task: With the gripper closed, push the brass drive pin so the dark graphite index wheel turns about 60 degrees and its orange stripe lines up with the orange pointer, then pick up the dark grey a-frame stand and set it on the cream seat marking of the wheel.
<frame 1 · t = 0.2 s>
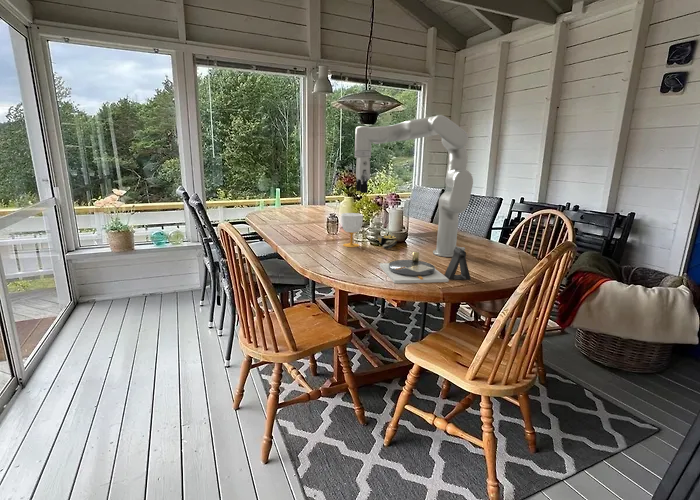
hand: (361, 192, 179), 31 cm above the table, tool pointing down, fingers open, 9 cm apart
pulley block: (385, 244, 214), on the table
cup: (351, 245, 208), on the table
dark grey a-frame stand: (457, 278, 156), on the table
index wheel: (411, 262, 160), point 4 cm above the table, hinge at 0.0°
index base: (411, 272, 161), on the table
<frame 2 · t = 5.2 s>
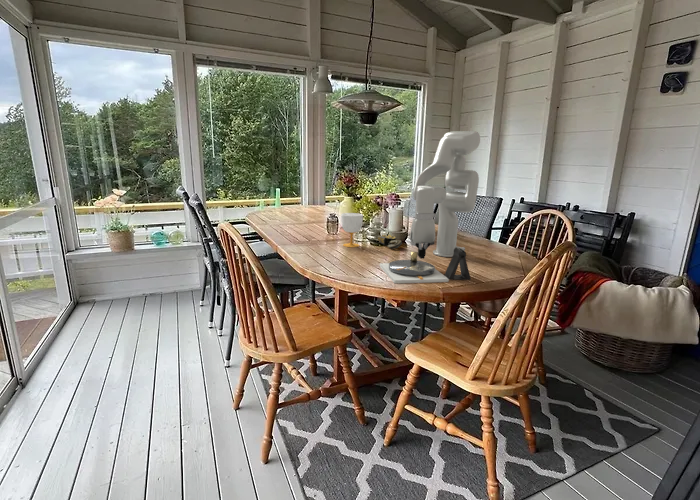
hand: (421, 257, 168), 5 cm above the table, tool pointing down, fingers closed
index wheel: (411, 262, 160), point 4 cm above the table, hinge at 5.3°, touching gripper
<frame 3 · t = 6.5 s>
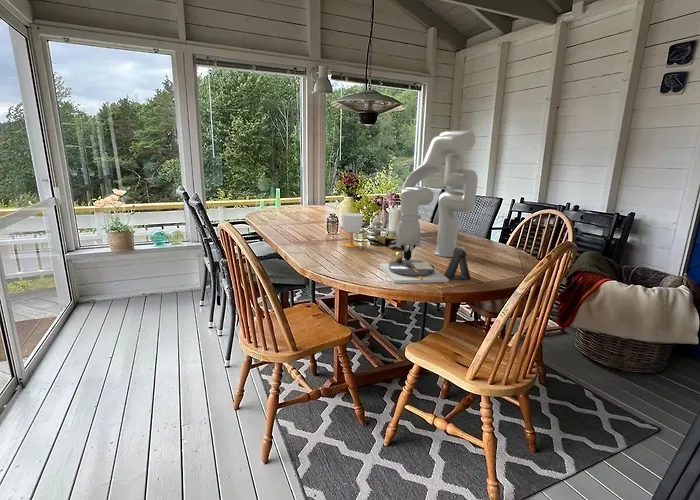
hand: (407, 259, 167), 4 cm above the table, tool pointing down, fingers closed
index wheel: (411, 262, 160), point 4 cm above the table, hinge at 54.9°, touching gripper
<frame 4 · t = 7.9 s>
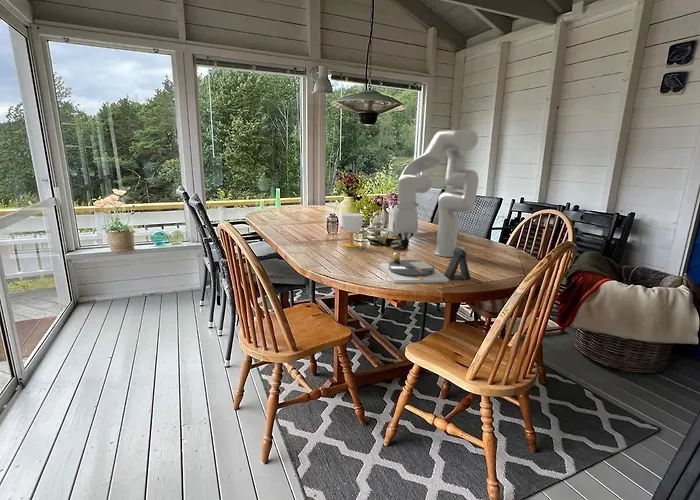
hand: (404, 248, 166), 9 cm above the table, tool pointing down, fingers closed
index wheel: (411, 262, 160), point 4 cm above the table, hinge at 66.9°
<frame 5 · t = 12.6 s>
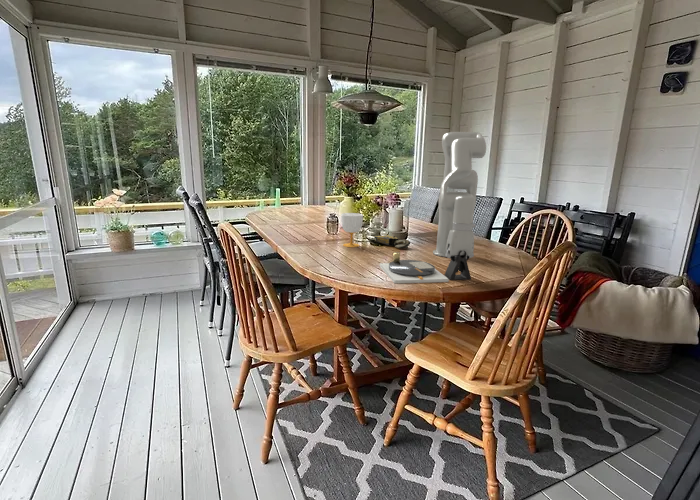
hand: (458, 271, 155), 3 cm above the table, tool pointing down, fingers closed on dark grey a-frame stand
dark grey a-frame stand: (457, 278, 156), on the table, touching gripper
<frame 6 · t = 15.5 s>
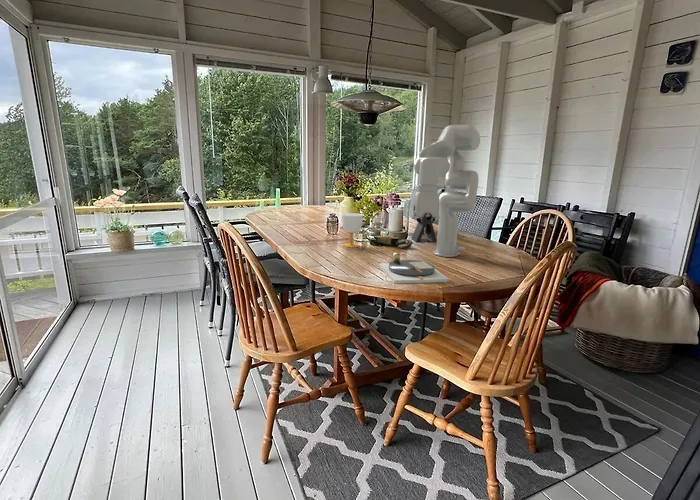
hand: (424, 233, 158), 17 cm above the table, tool pointing down, fingers closed on dark grey a-frame stand
dark grey a-frame stand: (423, 241, 158), point 14 cm above the table, touching gripper
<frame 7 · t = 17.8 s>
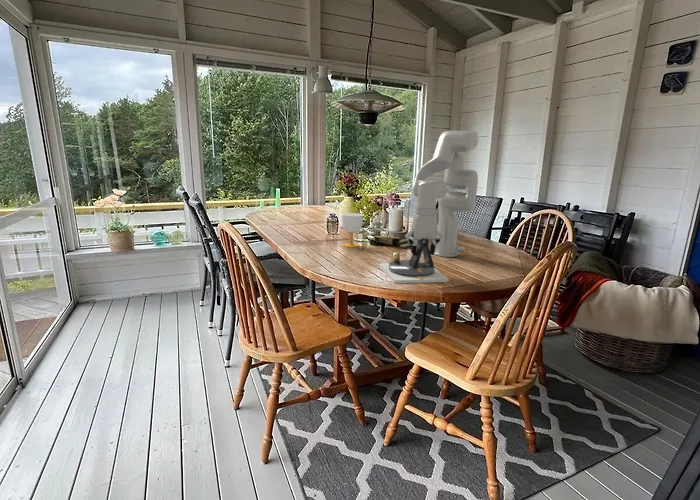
hand: (422, 254, 160), 8 cm above the table, tool pointing down, fingers open, 7 cm apart
dark grey a-frame stand: (421, 265, 161), point 3 cm above the table, touching index wheel
index wheel: (411, 262, 160), point 4 cm above the table, hinge at 66.9°, touching dark grey a-frame stand
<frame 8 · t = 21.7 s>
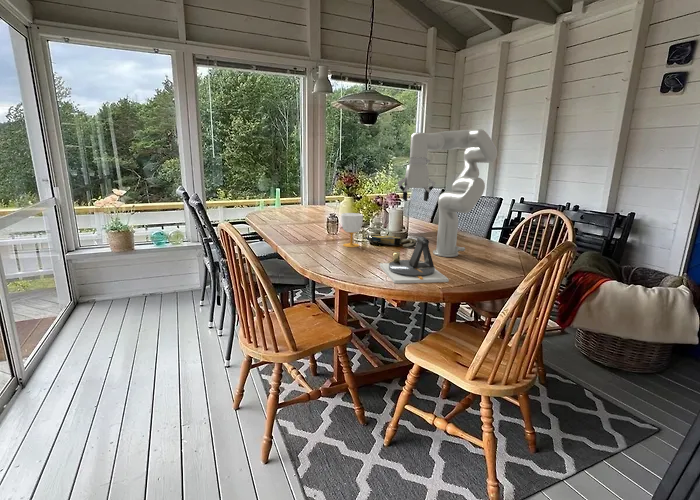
hand: (415, 200, 172), 28 cm above the table, tool pointing down, fingers open, 9 cm apart
at the end: index wheel at +67° (first picture: +0°); dark grey a-frame stand 0.3 cm from the target spot, point 3.0 cm above the table; dark grey a-frame stand tilted 0° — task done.
